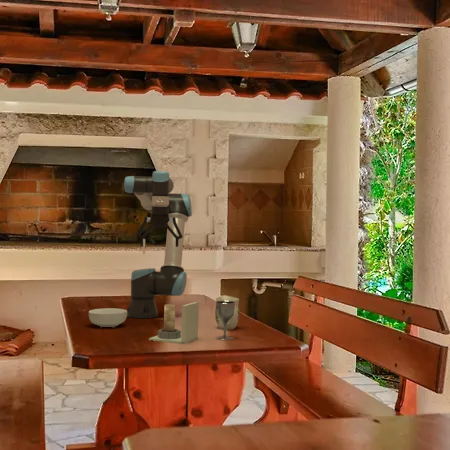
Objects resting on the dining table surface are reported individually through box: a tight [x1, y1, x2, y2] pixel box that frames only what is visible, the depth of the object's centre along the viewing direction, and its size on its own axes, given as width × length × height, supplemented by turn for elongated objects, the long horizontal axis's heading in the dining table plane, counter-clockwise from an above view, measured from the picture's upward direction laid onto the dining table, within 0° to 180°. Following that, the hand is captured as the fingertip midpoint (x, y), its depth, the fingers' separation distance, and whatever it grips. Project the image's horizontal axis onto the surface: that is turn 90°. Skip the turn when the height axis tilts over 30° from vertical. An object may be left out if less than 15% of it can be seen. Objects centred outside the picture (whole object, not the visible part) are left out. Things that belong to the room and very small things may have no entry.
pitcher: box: [214, 294, 240, 331], centre depth 308 cm, size 11×18×14 cm, turn 10°
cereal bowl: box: [88, 307, 128, 328], centre depth 308 cm, size 17×17×7 cm
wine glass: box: [215, 300, 235, 341], centre depth 285 cm, size 8×8×15 cm
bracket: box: [148, 301, 200, 345], centre depth 279 cm, size 16×12×15 cm
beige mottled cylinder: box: [163, 304, 176, 332], centre depth 280 cm, size 4×4×13 cm
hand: (159, 254), depth 306 cm, fingers open, 13 cm apart
